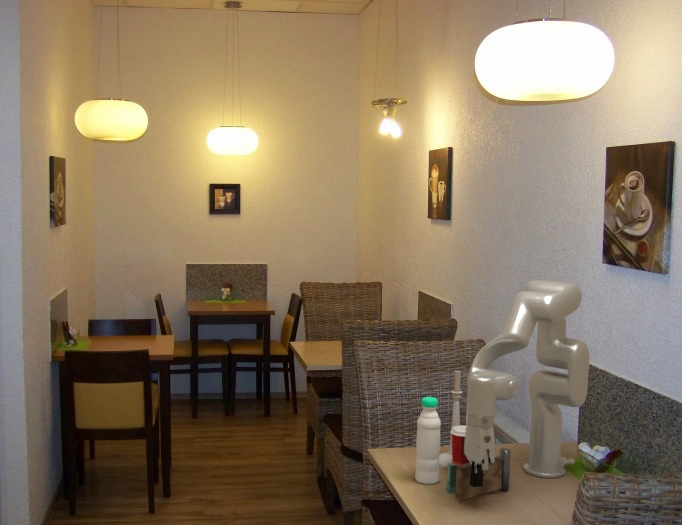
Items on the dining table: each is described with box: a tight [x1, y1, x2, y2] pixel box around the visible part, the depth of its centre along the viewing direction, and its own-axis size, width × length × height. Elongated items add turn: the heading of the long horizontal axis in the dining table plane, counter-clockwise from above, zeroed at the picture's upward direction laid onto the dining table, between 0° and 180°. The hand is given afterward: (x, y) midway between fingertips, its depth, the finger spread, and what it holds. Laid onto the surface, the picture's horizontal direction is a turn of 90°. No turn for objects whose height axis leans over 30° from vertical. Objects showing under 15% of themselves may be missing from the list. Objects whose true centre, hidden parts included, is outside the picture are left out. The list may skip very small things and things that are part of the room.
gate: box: [455, 456, 503, 500], centre depth 231 cm, size 16×2×9 cm, turn 124°
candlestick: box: [439, 370, 463, 469], centre depth 259 cm, size 13×13×30 cm
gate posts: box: [446, 447, 512, 494], centre depth 235 cm, size 18×3×12 cm, turn 99°
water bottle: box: [414, 396, 442, 485], centre depth 242 cm, size 7×7×25 cm
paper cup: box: [449, 425, 470, 476], centre depth 250 cm, size 8×8×14 cm
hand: (476, 485), depth 224 cm, fingers closed
